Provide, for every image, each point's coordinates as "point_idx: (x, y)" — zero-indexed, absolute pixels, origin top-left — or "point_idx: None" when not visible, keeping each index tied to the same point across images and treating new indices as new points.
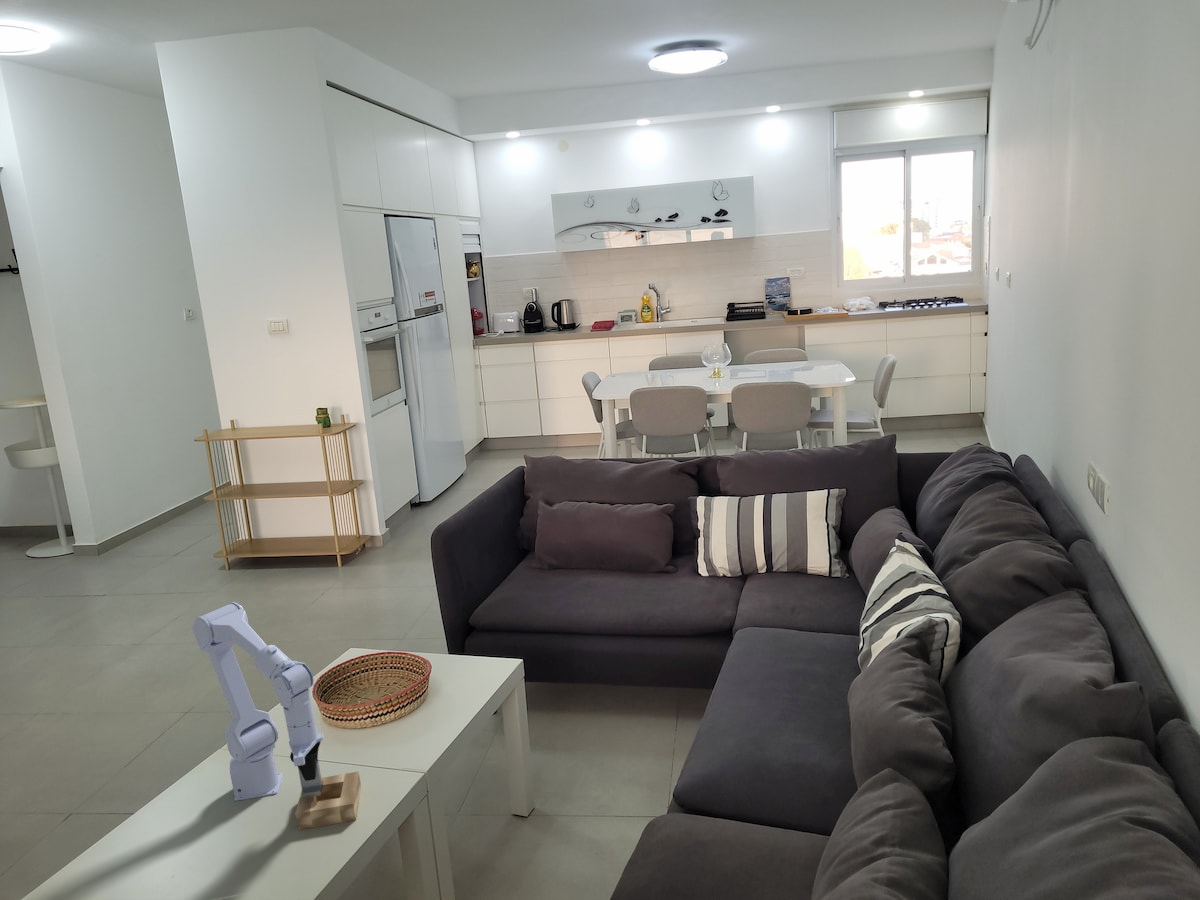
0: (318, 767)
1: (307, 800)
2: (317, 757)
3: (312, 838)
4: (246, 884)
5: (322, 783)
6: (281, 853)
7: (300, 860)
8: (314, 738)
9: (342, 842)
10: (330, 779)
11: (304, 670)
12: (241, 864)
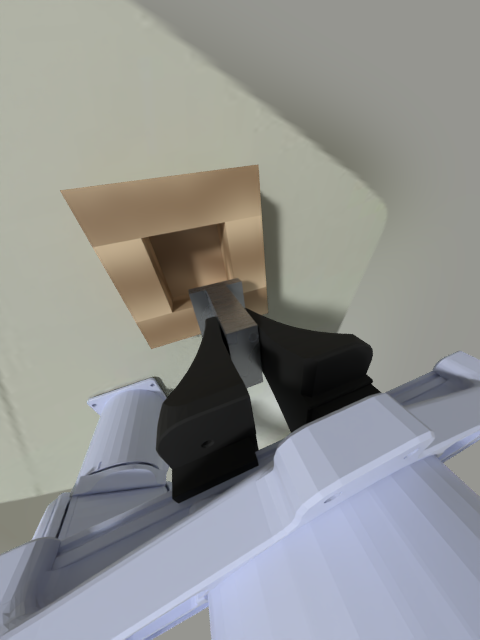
0: (234, 314)
1: None
2: (205, 344)
3: (276, 265)
4: (337, 316)
5: (200, 290)
6: (298, 300)
7: (321, 264)
8: (454, 492)
9: (302, 194)
10: (135, 286)
11: None
12: None
